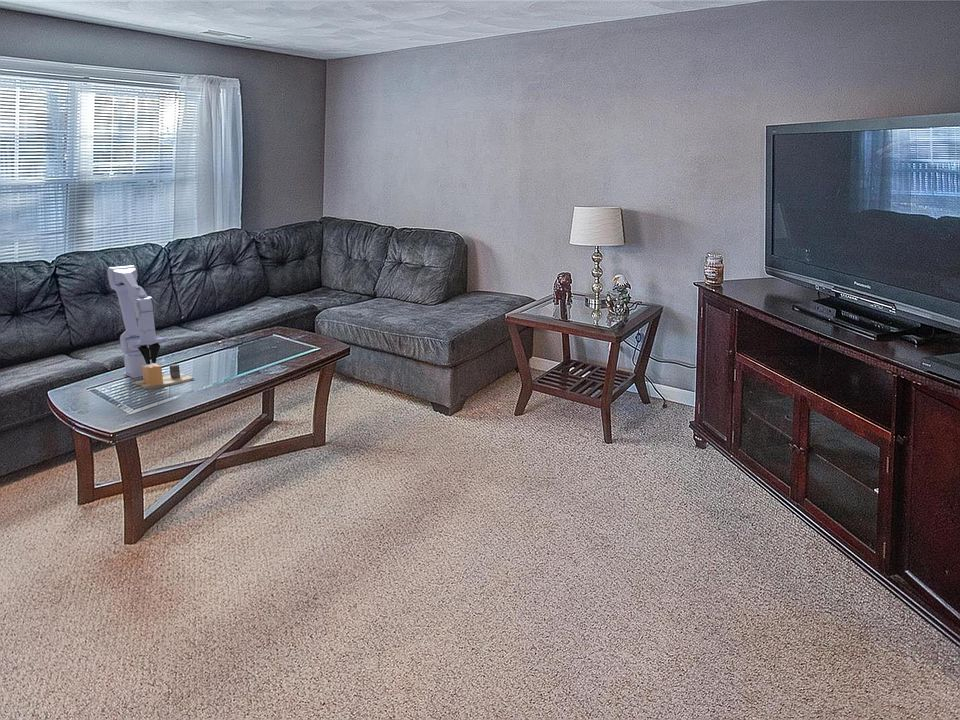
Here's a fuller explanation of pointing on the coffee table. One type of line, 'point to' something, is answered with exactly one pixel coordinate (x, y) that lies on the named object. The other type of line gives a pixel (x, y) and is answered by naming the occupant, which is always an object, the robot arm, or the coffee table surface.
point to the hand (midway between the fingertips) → (151, 363)
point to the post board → (168, 379)
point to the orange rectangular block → (152, 374)
